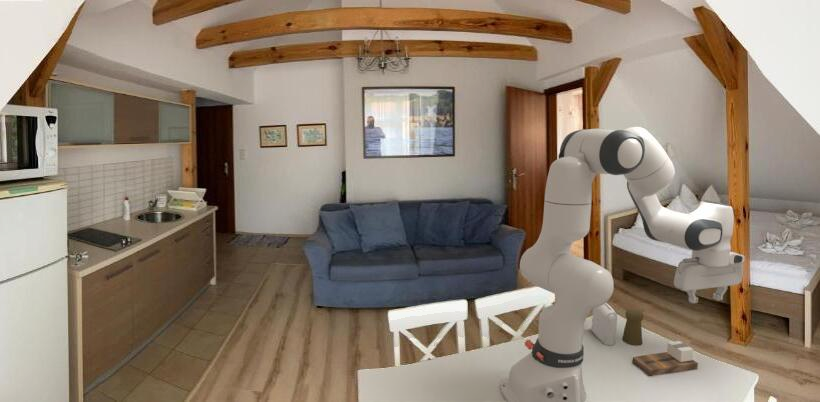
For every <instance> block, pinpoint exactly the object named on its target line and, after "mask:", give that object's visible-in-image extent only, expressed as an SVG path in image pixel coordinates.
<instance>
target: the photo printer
mask: <svg viewBox="0 0 820 402" xmlns="http://www.w3.org/2000/svg"><path fill="white" fill-rule="evenodd" d="M591 320H592V321H591V322H592V323H591V331H592V333H593V334H594V336H595V337H596V338H597V339H598V340H600V341H601V342H602V343H603V344H604V345H605V346H615V344H616V339H617V324H618V323H617V322H618V316H617V313H616V311H615V310H614V308H613V307H612V306H611V305H610V304H608V303H607V302H606V303H605V304H603V305H601V306H599V307H596V308H594V309H593V310H592V319H591Z"/></svg>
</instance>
